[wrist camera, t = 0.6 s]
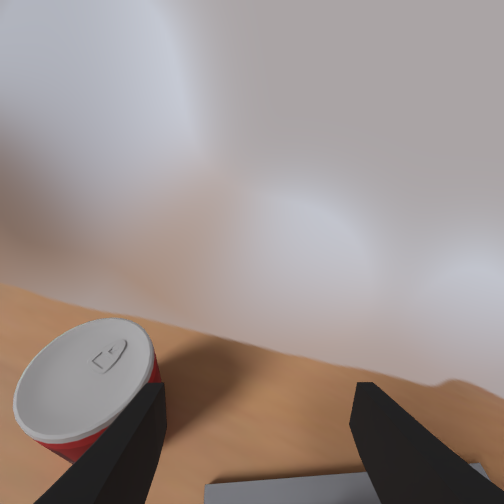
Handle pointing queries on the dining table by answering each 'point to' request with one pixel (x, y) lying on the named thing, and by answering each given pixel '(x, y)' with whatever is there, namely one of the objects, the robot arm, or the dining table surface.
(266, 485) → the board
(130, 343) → the canned food
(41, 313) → the dining table surface
